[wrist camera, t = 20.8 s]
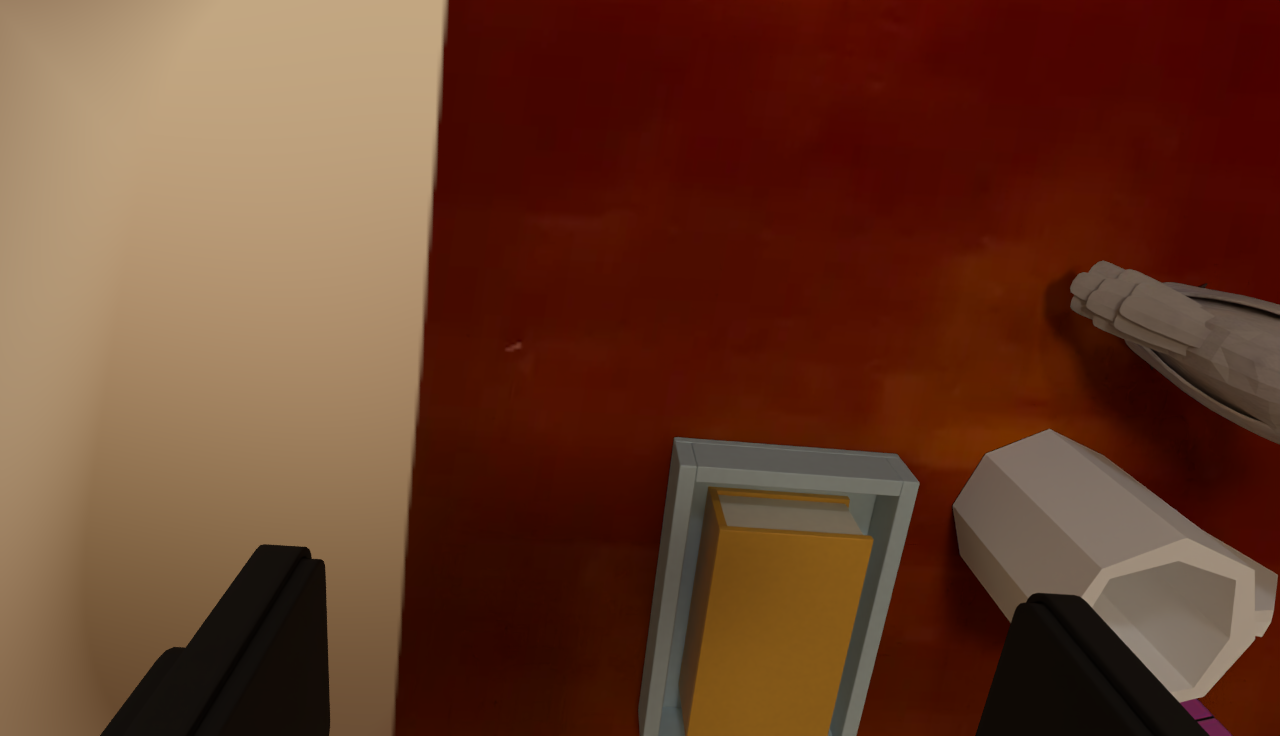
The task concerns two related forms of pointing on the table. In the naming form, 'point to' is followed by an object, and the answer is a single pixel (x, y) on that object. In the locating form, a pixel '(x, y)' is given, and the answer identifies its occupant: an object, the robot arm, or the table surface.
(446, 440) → the table surface
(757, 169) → the table surface
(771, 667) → the book
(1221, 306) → the bird
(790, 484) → the tray
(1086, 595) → the mug
